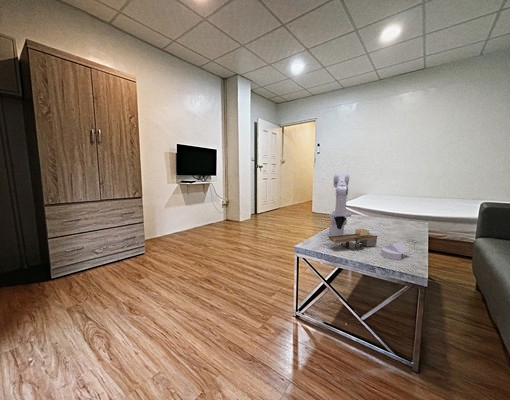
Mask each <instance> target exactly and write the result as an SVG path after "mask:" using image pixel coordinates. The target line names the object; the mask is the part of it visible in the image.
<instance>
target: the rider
mask: <svg viewBox="0 0 510 400" xmlns="http://www.w3.org/2000/svg"><path fill="white" fill-rule="evenodd" d="M369 233H370V231H369V230H368V229H366V228H357V229H355V233H354V234H355V236H357V237H367V236H368V234H369Z"/></svg>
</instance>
